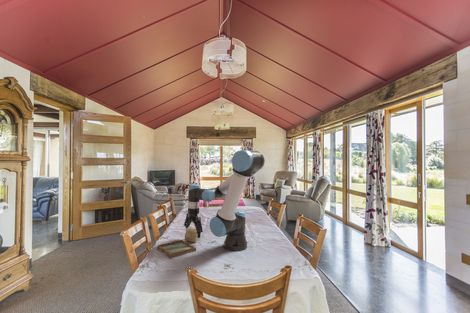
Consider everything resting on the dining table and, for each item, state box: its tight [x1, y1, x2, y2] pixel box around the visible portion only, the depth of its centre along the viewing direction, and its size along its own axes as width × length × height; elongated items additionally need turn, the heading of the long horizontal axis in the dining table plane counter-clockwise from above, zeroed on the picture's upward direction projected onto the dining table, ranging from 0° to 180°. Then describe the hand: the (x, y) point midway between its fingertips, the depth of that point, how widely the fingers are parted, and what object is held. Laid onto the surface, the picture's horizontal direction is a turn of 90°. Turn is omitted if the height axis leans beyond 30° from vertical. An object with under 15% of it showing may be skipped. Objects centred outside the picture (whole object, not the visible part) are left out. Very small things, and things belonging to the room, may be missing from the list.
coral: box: [184, 226, 197, 244], centre depth 160 cm, size 10×10×10 cm
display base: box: [156, 239, 197, 259], centre depth 145 cm, size 17×17×2 cm
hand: (192, 239), depth 159 cm, fingers open, 12 cm apart
